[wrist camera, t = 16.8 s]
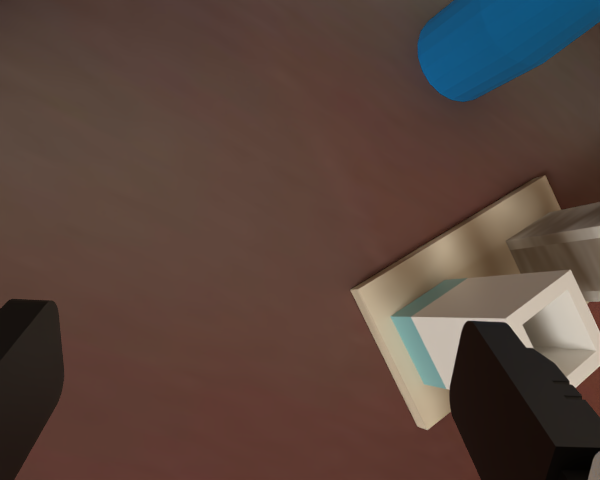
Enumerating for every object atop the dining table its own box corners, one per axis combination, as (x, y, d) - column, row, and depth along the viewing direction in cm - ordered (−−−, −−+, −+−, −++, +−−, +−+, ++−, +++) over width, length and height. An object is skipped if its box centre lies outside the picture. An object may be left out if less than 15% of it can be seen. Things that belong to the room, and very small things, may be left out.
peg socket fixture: (417, 426, 39) (555, 473, 28) (350, 289, 38) (464, 281, 27) (587, 294, 47) (748, 289, 36) (534, 178, 46) (681, 136, 35)
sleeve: (424, 384, 38) (549, 410, 28) (390, 316, 38) (505, 318, 28) (476, 344, 40) (611, 356, 30) (445, 279, 40) (570, 269, 30)
